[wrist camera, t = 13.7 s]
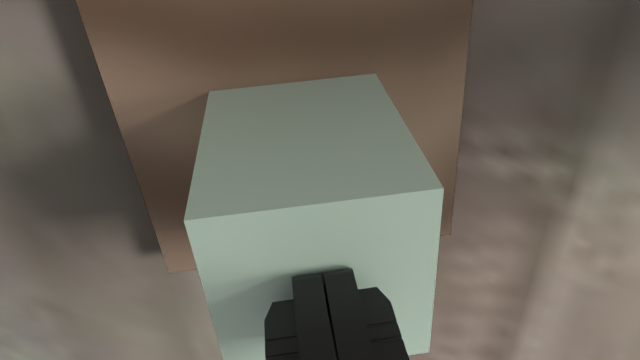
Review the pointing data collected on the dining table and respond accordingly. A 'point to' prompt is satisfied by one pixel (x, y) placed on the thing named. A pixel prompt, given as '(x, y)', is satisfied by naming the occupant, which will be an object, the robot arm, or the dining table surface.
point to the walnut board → (269, 77)
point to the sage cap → (311, 204)
